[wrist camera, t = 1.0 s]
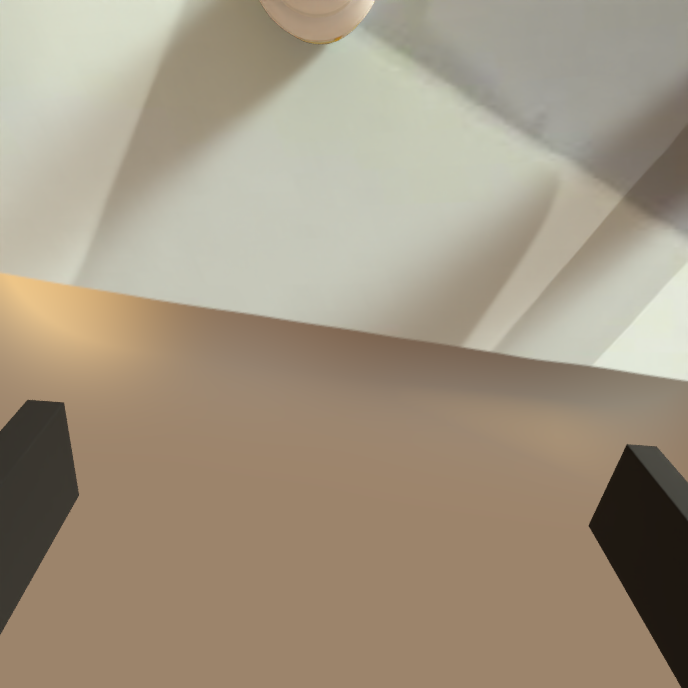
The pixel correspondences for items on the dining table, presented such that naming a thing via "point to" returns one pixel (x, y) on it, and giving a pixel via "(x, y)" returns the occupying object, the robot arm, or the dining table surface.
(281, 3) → the supplement bottle
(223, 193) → the dining table surface
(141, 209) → the dining table surface
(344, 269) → the dining table surface
